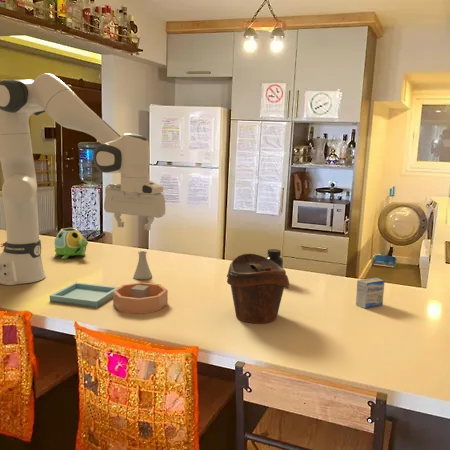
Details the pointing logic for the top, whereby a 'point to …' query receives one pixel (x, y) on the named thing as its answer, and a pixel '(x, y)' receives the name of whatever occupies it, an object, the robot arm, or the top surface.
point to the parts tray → (83, 294)
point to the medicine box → (370, 293)
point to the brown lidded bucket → (256, 287)
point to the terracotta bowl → (140, 305)
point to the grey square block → (140, 291)
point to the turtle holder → (70, 243)
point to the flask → (142, 267)
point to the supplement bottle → (275, 256)
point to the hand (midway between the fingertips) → (133, 228)
